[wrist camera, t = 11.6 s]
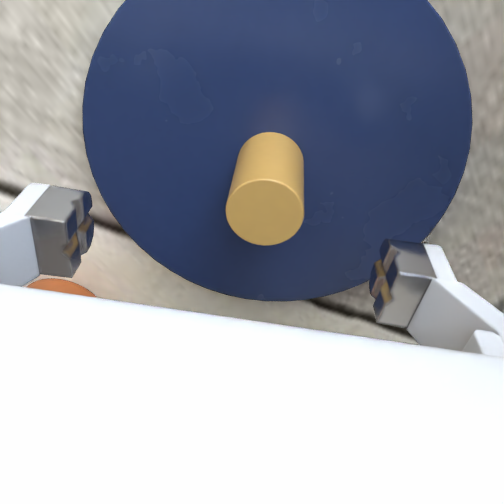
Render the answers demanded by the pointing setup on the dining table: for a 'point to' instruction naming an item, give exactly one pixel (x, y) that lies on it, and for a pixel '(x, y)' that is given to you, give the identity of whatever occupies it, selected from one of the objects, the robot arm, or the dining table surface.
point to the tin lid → (276, 136)
